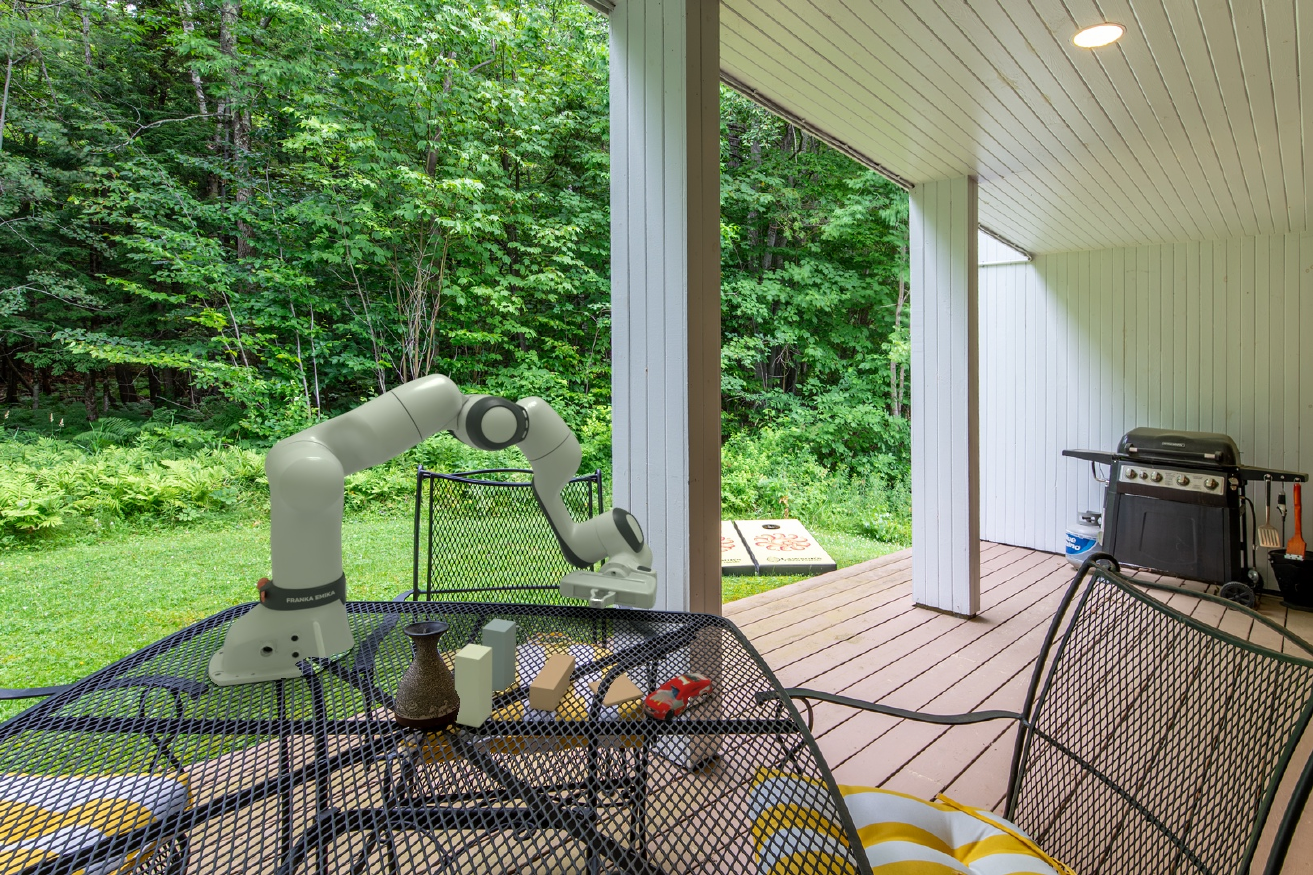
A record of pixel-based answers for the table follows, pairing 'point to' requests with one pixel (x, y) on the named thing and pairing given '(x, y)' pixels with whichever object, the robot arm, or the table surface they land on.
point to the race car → (676, 695)
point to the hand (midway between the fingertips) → (596, 604)
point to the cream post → (474, 684)
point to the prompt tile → (618, 691)
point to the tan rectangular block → (551, 682)
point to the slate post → (501, 651)
